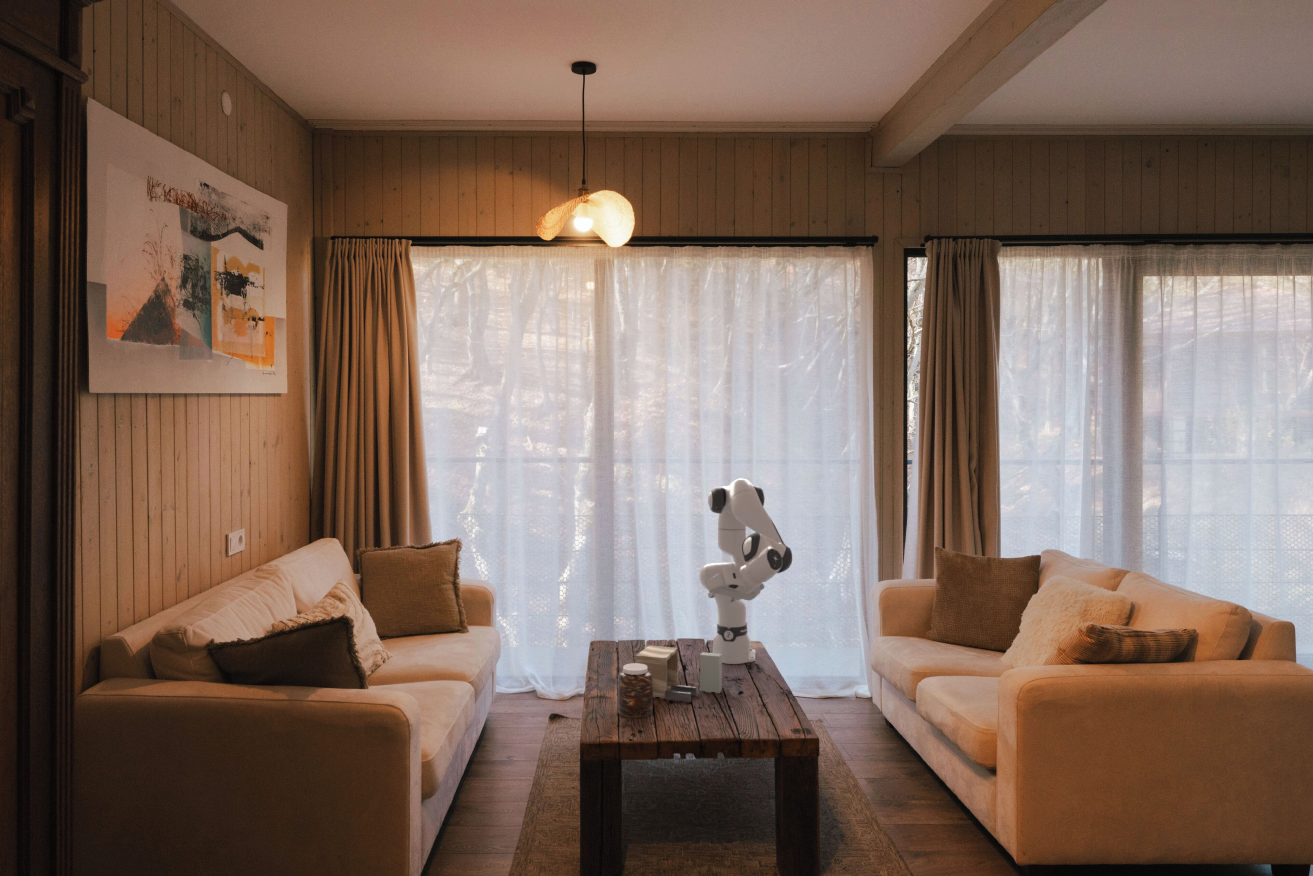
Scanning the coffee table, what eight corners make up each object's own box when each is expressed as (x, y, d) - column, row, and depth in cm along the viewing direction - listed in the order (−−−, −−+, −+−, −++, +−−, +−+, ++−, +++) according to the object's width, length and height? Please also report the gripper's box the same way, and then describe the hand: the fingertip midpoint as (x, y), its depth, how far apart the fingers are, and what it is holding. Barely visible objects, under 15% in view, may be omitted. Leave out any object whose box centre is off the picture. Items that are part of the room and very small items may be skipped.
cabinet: (649, 683, 306) (648, 645, 305) (678, 686, 302) (677, 647, 302) (636, 695, 292) (635, 655, 292) (666, 698, 289) (666, 658, 289)
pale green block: (702, 688, 300) (702, 652, 300) (721, 690, 298) (721, 653, 298) (700, 691, 297) (700, 654, 296) (719, 693, 294) (719, 656, 294)
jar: (660, 710, 277) (660, 665, 277) (639, 721, 267) (639, 674, 267) (631, 704, 283) (631, 659, 283) (610, 713, 274) (610, 668, 274)
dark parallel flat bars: (671, 693, 295) (671, 684, 295) (696, 695, 292) (696, 687, 292) (665, 699, 288) (665, 691, 287) (690, 702, 285) (690, 693, 285)
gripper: (765, 577, 297) (740, 595, 305) (721, 566, 286) (696, 585, 294) (769, 593, 293) (743, 610, 301) (724, 583, 282) (699, 601, 290)
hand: (720, 598), depth 297 cm, fingers open, 8 cm apart
